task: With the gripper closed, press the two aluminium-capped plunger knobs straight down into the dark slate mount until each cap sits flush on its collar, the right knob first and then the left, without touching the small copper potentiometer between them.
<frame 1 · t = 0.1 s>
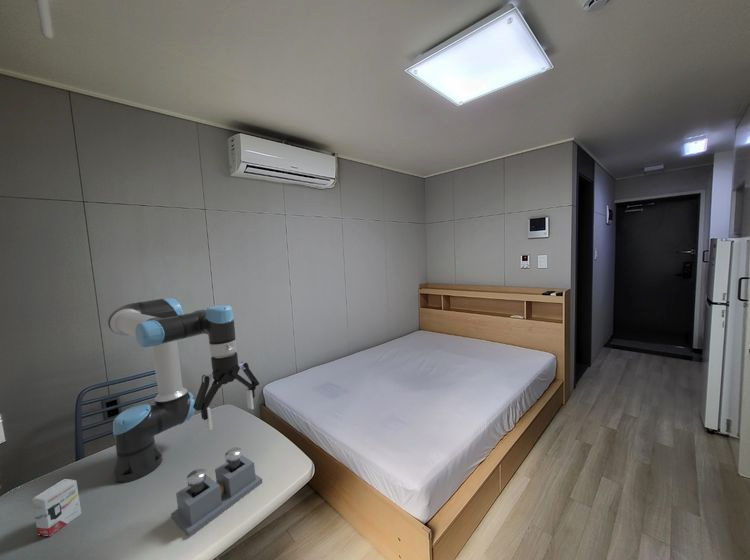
hand: (231, 417, 97), 28 cm above the table, fingers open, 13 cm apart
knob b: (234, 463, 103), point 9 cm above the table, slide at 0.0 cm
knob a: (197, 486, 94), point 9 cm above the table, slide at 0.0 cm
mount: (219, 499, 99), on the table
ink box: (60, 524, 94), on the table
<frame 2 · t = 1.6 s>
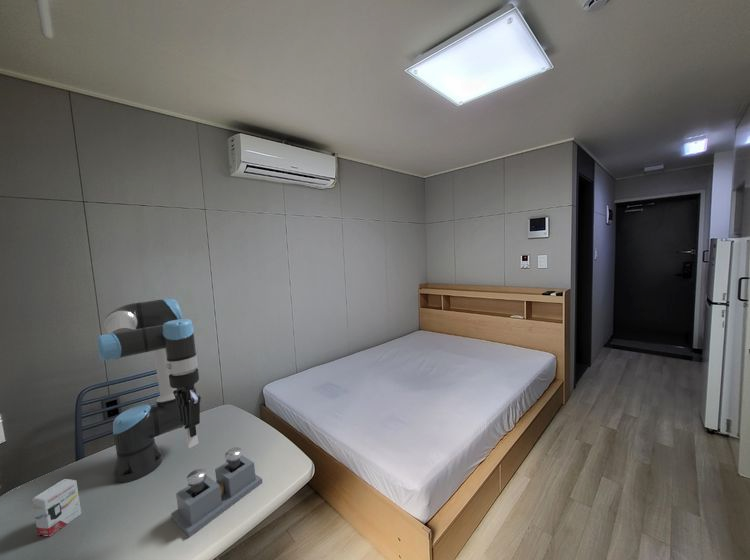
hand: (192, 444, 92), 23 cm above the table, fingers closed
nothing on the table moved.
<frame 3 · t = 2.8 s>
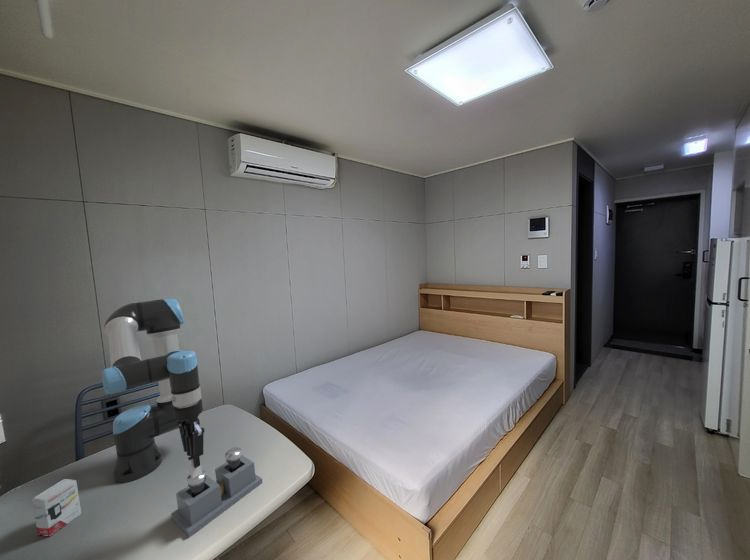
hand: (196, 475, 93), 13 cm above the table, fingers closed
knob a: (197, 487, 94), point 9 cm above the table, slide at 0.4 cm, touching gripper
everything else where it was.
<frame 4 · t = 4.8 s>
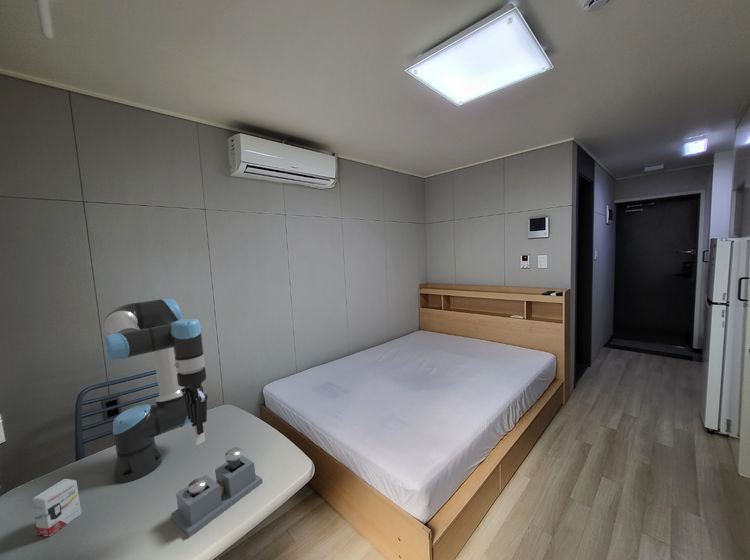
hand: (199, 442, 94), 22 cm above the table, fingers closed
knob a: (198, 495, 94), point 6 cm above the table, slide at 3.0 cm
everything else where it was.
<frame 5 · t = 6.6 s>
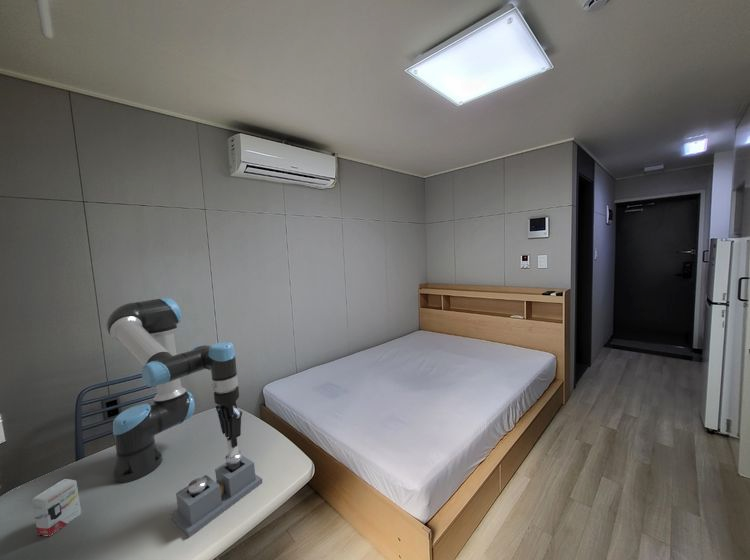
hand: (233, 454, 103), 12 cm above the table, fingers closed
knob b: (234, 466, 104), point 8 cm above the table, slide at 1.1 cm, touching gripper
everything else where it was.
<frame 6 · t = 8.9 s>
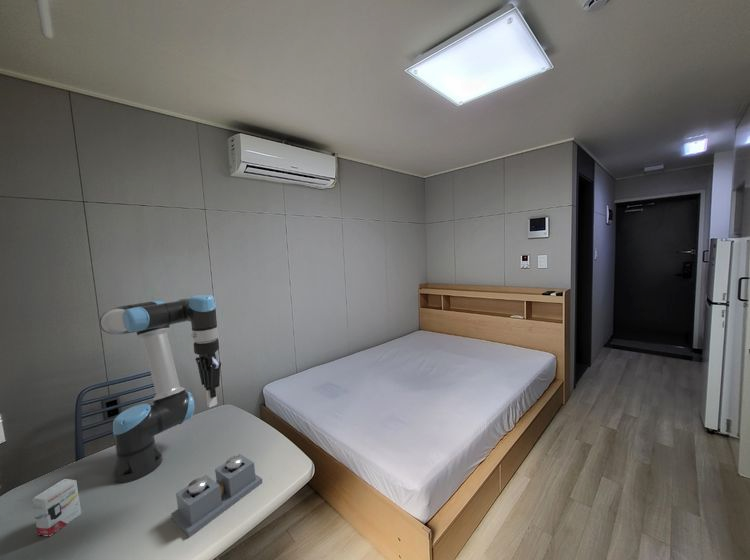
hand: (212, 405, 105), 28 cm above the table, fingers closed
knob b: (235, 471, 104), point 6 cm above the table, slide at 3.0 cm
everything else where it was.
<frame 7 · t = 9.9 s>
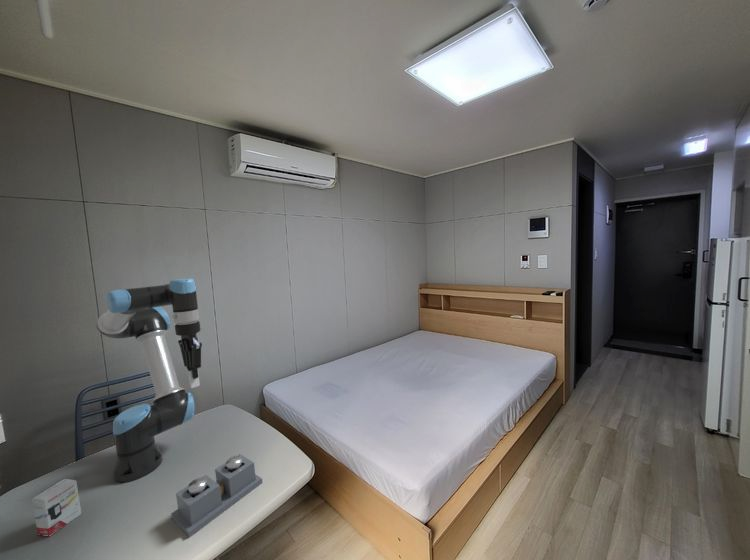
hand: (194, 386, 108), 34 cm above the table, fingers closed
nothing on the table moved.
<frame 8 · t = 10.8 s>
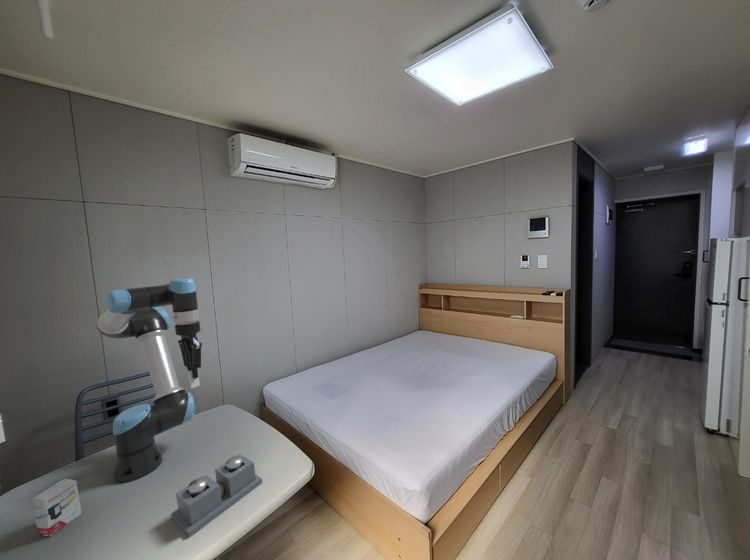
hand: (194, 386, 108), 34 cm above the table, fingers closed
nothing on the table moved.
at the end: knob a slide at 3.0 cm; knob b slide at 3.0 cm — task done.
